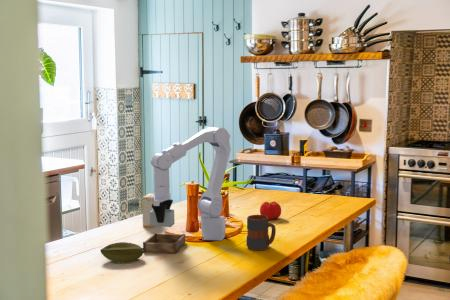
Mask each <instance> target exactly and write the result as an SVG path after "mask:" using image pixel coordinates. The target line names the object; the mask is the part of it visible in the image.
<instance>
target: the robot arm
mask: <svg viewBox="0 0 450 300" xmlns="http://www.w3.org/2000/svg"><path fill="white" fill-rule="evenodd" d="M230 138H231V134H230V133H229V132H228V130H227V128H224V127H218V126H217V127H216V126H211V125H209V126H206V127H205V128H202V129H201V130H200V131H199V132H197V133H196V134H194V135H193V136H191V137H190V138H189V139H187V140H186V141H184V142H182V143H180V142H174V143H172V144H171V146H170V147H167V148H166V149H162V150H161V152H157V153H155V154H154V155H152V157H151V160H150V164H151V166H152V167H153V178H154V179H153V182H154V183H153V186H154V193H153V194H155V196H152V199H154V204H152V208H153V210H154V212H155V215H156V218H157V222H158V223H163V222H164V215H165V210H166V209H171V208H172V204H173V202H174V200H173V199H171V191H170V188H171V187H170V185H171V184H170V168H171V167H172V165H173V164H174V163H175V162H178V160H181V159H183V158H184V157H185V156H187V153H188V152H187V151H190V150H192V149H193V148H195V147H197V146H199V145H201V144H203V143H208V144H210V145H211V146H212V148H213V149H214V151H215V154H214V155H215V156H214V158H213V159H214V160H213V163H212V167H211V171H210V175H209V179H208V182H207V183H208V184H207V187H206V190H205V191H204V192H203V193H202V194H201V197H200V199H199V200H198V202H197V208H198V211H199V212H200V224H201V225H200V227H201V229H200V233H201V234H200V236H201V235H202V236H203V237H204V239H202V240H201V241H223V240H224V238H225V237H226V236H225V234H226V218H225V216H221V214H222V212H223V197H222V195H221V190H222V187H223V183H224V179H225V174H226V171H227V167H228V162H229V159H230V155H231V154H230V153H231V150H232V149H231V143H230Z"/></svg>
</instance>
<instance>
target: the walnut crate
mask: <svg viewBox="0 0 450 300" xmlns="http://www.w3.org/2000/svg"><path fill="white" fill-rule="evenodd" d="M185 245H186V233H182V234H181V233H179V234H177V233H158V232H153V234H152V235H151V236H150V237H148V238H147V239H146V240H145V241H143V242H142V248H143V249H144V250H143V252H144V253H145V254H146V253H148V254H150V253H151V254H152V253H153V254H169V255H176V254H177V253H178V252H179V251H180V250H181V249H182V248H183V247H184V246H185Z"/></svg>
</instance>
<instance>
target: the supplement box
mask: <svg viewBox="0 0 450 300" xmlns="http://www.w3.org/2000/svg"><path fill="white" fill-rule="evenodd" d="M152 196H155V193H147V194H146V195H144V196H141V202H142V203H141V204H142V207H141V208H142V228H143V227H144V228H153V227H154V226H150V211H152V210H153V208H152V204H154V199H152Z"/></svg>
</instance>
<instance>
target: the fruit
mask: <svg viewBox="0 0 450 300" xmlns="http://www.w3.org/2000/svg"><path fill="white" fill-rule="evenodd" d="M143 250H144V249H143V247H141V245H138V244H136V243H132V242H126V241H124V242H122V241H121V242H120V241H119V242H113V243H110V244H108V245H106V246H104V247H103V248H101V249H100V253H101V255H102V256H103V257H104V258H105V259H107V260H109V261H110V262H114V263H117V264H129V262H130V263H133V262H135V261H137V260H139V259H141V257H142V256H143V254H144V253H145V252H143Z"/></svg>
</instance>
